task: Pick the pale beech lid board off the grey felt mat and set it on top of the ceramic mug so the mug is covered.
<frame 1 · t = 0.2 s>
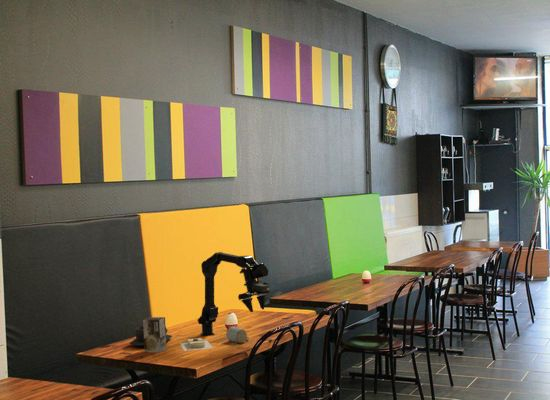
hand: (257, 310, 371), 15 cm above the table, tool pointing down, fingers open, 9 cm apart
mat: (196, 346, 365), on the table
coffee box: (155, 351, 358), on the table
ceramic mug: (239, 342, 372), on the table
casserole: (151, 343, 376), on the table
lid: (196, 345, 365), resting on mat
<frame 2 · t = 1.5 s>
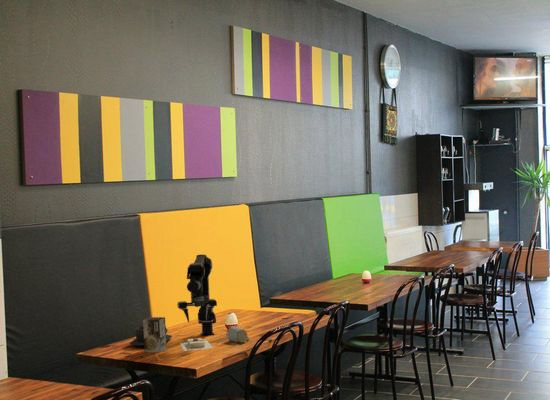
hand: (197, 321, 364), 13 cm above the table, tool pointing down, fingers open, 9 cm apart
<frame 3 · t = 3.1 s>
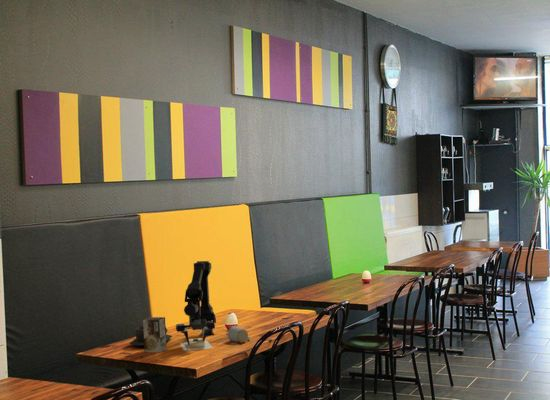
hand: (195, 343, 365), 1 cm above the table, tool pointing down, fingers closed on lid, 7 cm apart
lid: (196, 345, 365), resting on mat, touching gripper
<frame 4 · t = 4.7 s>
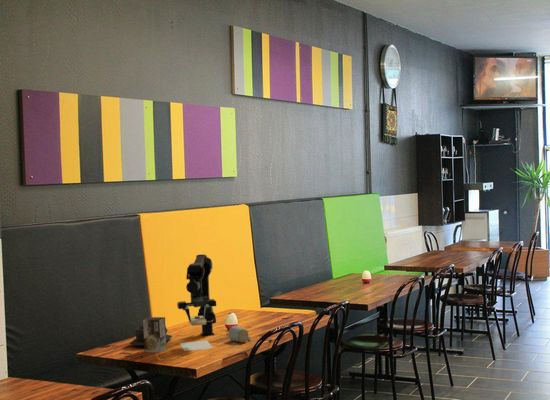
hand: (197, 321, 365), 12 cm above the table, tool pointing down, fingers closed on lid, 7 cm apart
lid: (197, 323, 365), point 12 cm above the table, touching gripper
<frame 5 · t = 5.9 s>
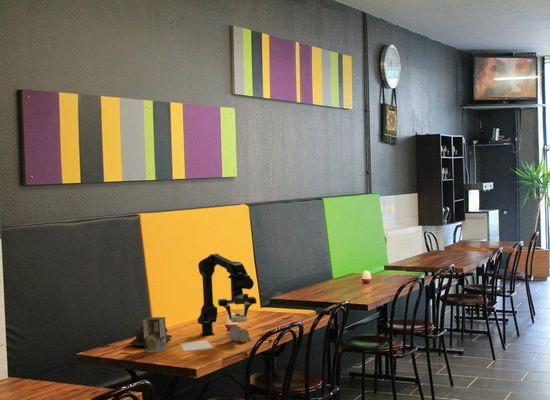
hand: (237, 318, 372), 12 cm above the table, tool pointing down, fingers closed on lid, 7 cm apart
lid: (237, 320, 372), point 11 cm above the table, touching gripper
when the fingers open (10 cm above the table, at t = 6.6 s): lid drops 2 cm, resting on ceramic mug.
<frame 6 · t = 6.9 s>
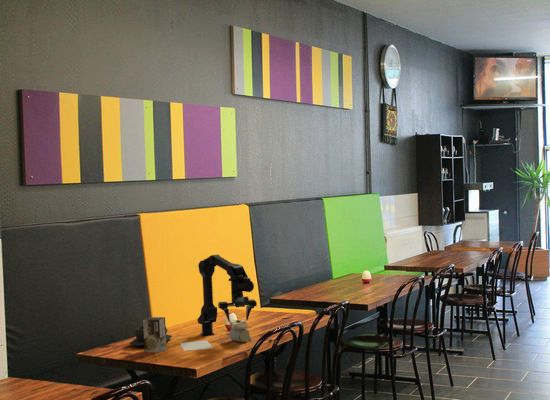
hand: (238, 321, 372), 10 cm above the table, tool pointing down, fingers open, 9 cm apart
ceramic mug: (241, 341, 373), on the table, touching lid
lid: (238, 326, 372), point 8 cm above the table, touching ceramic mug
everything else where it was.
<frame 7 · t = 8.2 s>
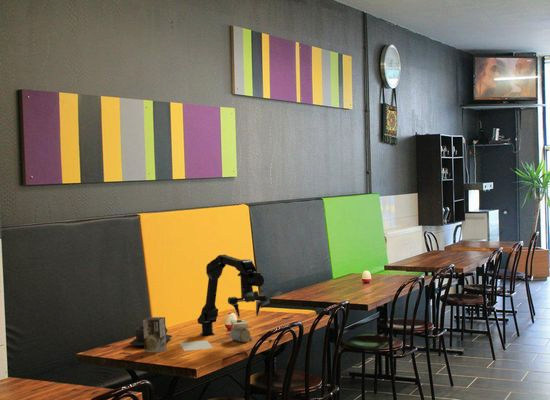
hand: (248, 316, 367), 13 cm above the table, tool pointing down, fingers open, 9 cm apart
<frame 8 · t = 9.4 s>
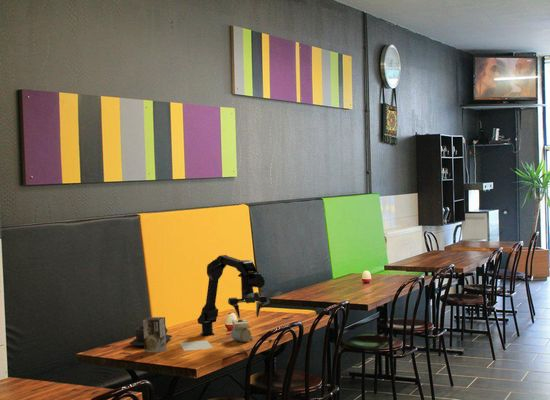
hand: (248, 317, 367), 13 cm above the table, tool pointing down, fingers open, 9 cm apart
at the end: lid inside the target area on the ceramic mug (1.4 cm from its centre), point 7.9 cm above the ceramic mug's base; lid tilted 0°; the gripper is holding nothing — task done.
